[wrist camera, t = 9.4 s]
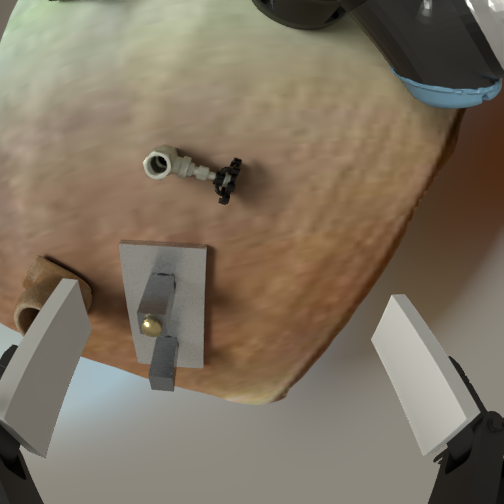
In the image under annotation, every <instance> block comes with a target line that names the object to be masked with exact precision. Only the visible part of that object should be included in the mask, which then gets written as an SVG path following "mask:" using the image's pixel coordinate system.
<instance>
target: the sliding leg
mask: <svg viewBox="0 0 504 504" xmlns="http://www.w3.org/2000/svg"><path fill="white" fill-rule="evenodd" d="M174 298H175V285H174V276H167V275H152V274H150V276H149V279H148V282H147V284H146V287H145V290H144V293H143V296H142V299H141V301H140V304H139V307H138V310H137V318H138V324H139V330H140V334H145V335H147V336H149V337H157V336H167V335H168V329H169V324H170V318H171V313H172V308H173V303H174Z"/></svg>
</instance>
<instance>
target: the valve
mask: <svg viewBox="0 0 504 504" xmlns="http://www.w3.org/2000/svg"><path fill="white" fill-rule="evenodd" d="M158 156H161V157H163V158H164V159H165V160H166V162H167V166H165V165H162V164H161V163H160V162H159V160H158ZM191 160H192V158H190V157H187V156H184V158H182V157H178V152H177V148H174V147H171V146H167V145H162V146H158V147H156V148H154V149H153V150H152V151H151V152H150V153H149V155H148V157H147V158H146V159H145V160H144V161H143V164H144V169H145V172H146V175H147V177H150V178H154V179H157V180H162V179H163V178H164V177H165V176H168V175H170V174H172V173H174V174H177V175H178V177H179V178H182V179H185V178H186V176H191V175H196V178H197V179H200V180H204V181H205V180H206V178H208V179H211V180H213V184H215V192H216V193H217V194H218V195H220V196H222V198H219V202H218V203H220V204H224V205H226V204H228V202H229V199H230V193H231V192H233V191H234V188H235V180H236V177H237V176H238V175H239V173H240V168H239V167H240V165H241V162H242V160H241V159H238V158H234V160H233V161H232V162H231V164H230V167H224V168H222V169H221V171H220V170H217V172H216V173H214V172H211V171H209V168H208V167H205V166H202V165H200V167H197V166H195V163H192V162H191ZM231 167H232V168H231ZM226 172H227V173H226ZM229 172H230V173H229ZM219 186H221V187H222V189H221V191H220V190H219Z"/></svg>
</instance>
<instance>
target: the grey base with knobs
mask: <svg viewBox="0 0 504 504" xmlns="http://www.w3.org/2000/svg"><path fill="white" fill-rule="evenodd" d="M119 249H120V258H121V267H122V275H123V282H124V289H125V296H126V302H127V308H128V314H129V320H130V325H131V330H132V336H133V340H134V345H135V350H136V354H137V359H138V363H144V364H151V366H150V371H149V380H150V384H151V389H153V390H163V391H174V386H175V376H176V367H190V368H203V365H204V305H205V276H206V253H207V245H206V244H189V243H172V242H155V241H138V240H121V241H120V243H119ZM150 274H152V275H167V276H174V285H175V298H174V303H173V308H172V313H171V318H170V324H169V329H168V335H167V336H157V337H149V336H147V335H145V334H140V330H139V324H138V318H137V310H138V307H139V304H140V301H141V299H142V296H143V293H144V290H145V287H146V284H147V282H148V279H149V276H150Z"/></svg>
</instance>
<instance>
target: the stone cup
mask: <svg viewBox="0 0 504 504" xmlns="http://www.w3.org/2000/svg"><path fill="white" fill-rule="evenodd" d="M63 278H65V279H74V280H78V283H79V287H80V291H81V294H82V298H83V302H84V305H85V308H86V312H88V310H89V308H90V306H91V303H92V295H91V288H90V286H89V285H88V284H87V283H86V282H85V281H83V280H82V279H81V278H79V277H78V276H76V275H75V274H73V273H71V272H69V271H67V270H66V269H64V268H62V267H60V266H58V265H56V264H55V263H53V262H51V261H49V260H47V259H45V258H43V257H41V256H39V255H37V256H36V258H35V260H34V262H33V264H32V266H31V268H30V271H28V272H27V273H26V274H25V276H24V279H23V282H22V286H23V288H25V289H26V291H25V292H24V293H23V294H22V295H21V296H20V297H19V299H18V301H17V304H16V307H15V311H14V320H15V324H16V326H17V329H18V330H19V332H20V333H21V334H22V336H23V337H24V336H25V334H26V333H27V331H28V329H29V328H30V326H31V324H32V323H33V321H34V320H35V318H36V317H37V315H38V313H39V312H40V310H41V309H42V307H43V306H44V304H45V303H46V301H47V300H48V299H49V297H50V296H51V294H52V293H53V291H54V290H55V288H56V287H57V286H58V284H59V283H60V281H61V280H62V279H63Z"/></svg>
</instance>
